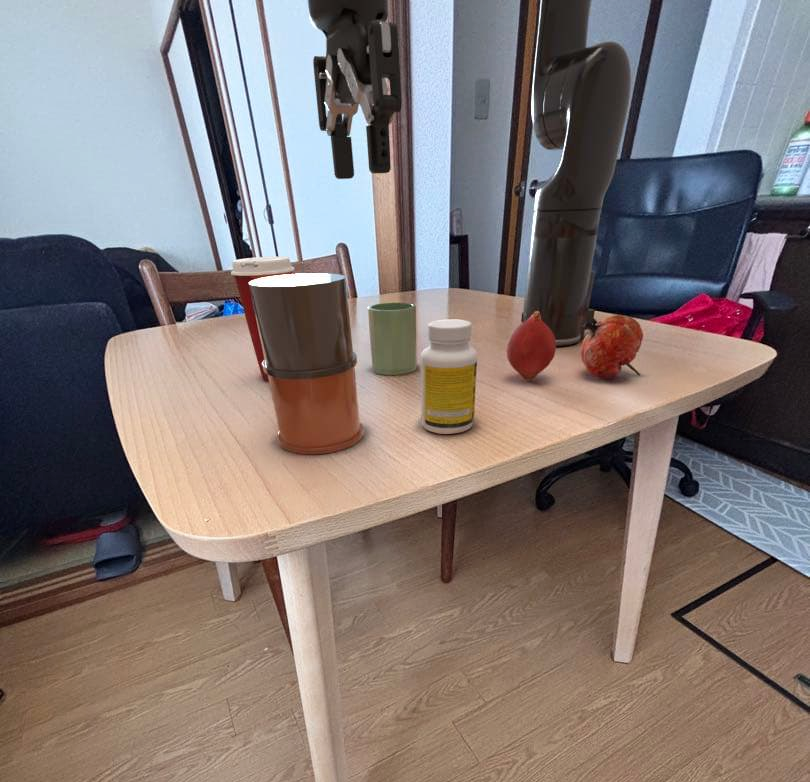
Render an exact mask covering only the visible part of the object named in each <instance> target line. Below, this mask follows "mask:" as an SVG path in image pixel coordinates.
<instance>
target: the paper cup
mask: <svg viewBox="0 0 810 782" xmlns="http://www.w3.org/2000/svg"><path fill="white" fill-rule="evenodd" d="M231 264H232V270H231V272H230V275H232V276H233V277H234V280H235V285H236V287H237V291H238V295H239V298H240V302H241V306H242V309H243V313H244V317H245V320H246V324H247V329H248V331H249V335H250V338H251V343H252V347H253V349H254V350H253V351H254V355H255V357H256V361H257V364H258V368H259V371H260V374H261V377H262V379H263V381H266V382H269V379H268V375H267V374H266V373H265V372H264V371H263V366H262V362H263V361H264V360H265V359H264V354H263V349H262V344H261V340H260V335H259V330H258V325H257V320H256V315H255V310H254V305H253V300H252V296H251V291H250V286H249V283H250V282H251V281H253V280H257V279H261V278H267V277H273V276H282V275H293V274H294V271H295V267H294V266H292V263H291V259H290V257H289V256H258V257H247V258H239V259H233V260H232V263H231Z"/></svg>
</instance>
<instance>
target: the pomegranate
mask: <svg viewBox="0 0 810 782" xmlns="http://www.w3.org/2000/svg"><path fill="white" fill-rule="evenodd" d="M584 327H587V328H588V331H589V333H587V334H586V335H585V336H584V338H583V339H582V340H583V341H582V343H581V347H580V355H581V357H580V358H581V362H582V364H583V365H584V366H585V368H586V370H587V371H588V372H589V373H590V375H592V376H594V377H596V378H599V379H603V380H609V379H612V378H615V377H617V375H618V374H620V372H621V370H622V366H626V367H628V368H629V369H630V370H632V371H633V372H634V373H635V374H636V375H637V376H641V373H640V372H639V371H638V370H637V369H636V368H635V367H634V366H633V365H632V364H631V363H632V362H633V360H634V359H635V358H636V356H637V353H638V352H639V351H640V348H641V346H642V341H643V339H644V332H643V329H642V327H641V324H640V323H639V322H638V321H637V320H636V319H635V318H633V317H632V316H628V315H624V314H615V315H610V316H608V317H606V318H604V319H603V320H601V321H597V324H596V325H593V324H591V323H588V322H586V323H585V325H584V326H583V328H584Z"/></svg>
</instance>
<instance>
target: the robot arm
mask: <svg viewBox="0 0 810 782" xmlns="http://www.w3.org/2000/svg"><path fill="white" fill-rule="evenodd" d="M306 2H307V7H308V8H307V9H308V18H309V21H310V23H311V25H312V26H313V28H315V29H317V31H321V32H322V33H323V35H324V36H325V55H321V56H319V55H314V56H313V60H312V62H313V76H314V85H315V96H316V106H317V107H316V108H317V117H318V126H319V129H320V131H321V132H326V134H327V136H328V137H330V143H331V151H332V162H333V171H334V177H335V179H337V180H347V179H348V180H349V179H353V178H354V176H355V167H354V155H353V145H352V136H350V135H351V131H352V124H353V118H354V116H355V115H356V114H357V113H358V111H359V106H360V108H361V112H362V113H363V116H364V119H365V122H366V123H367V124H368V125H366V126H365V130H366V144H367V160H368V171H369V172H370V173H371V174H375V175H376V174H388V173H390V171H391V168H392V166H391V165H392V164H391V144H390V143H391V142H390V125H391V124H392V122H393V119H394V118H393V116H394V114H396V113H400V112H402V111H401V110H402V106H403V97H402V85H401V84H402V83H401V68H400V67H401V66H400V50H399V49H400V48H399V34H398V33H399V32H398V26H397V24H396V22H391V21H390V22H389V21H387V20H388V17H389V5H388V3H389V1H388V0H307V1H306ZM591 6H592V0H540V5H539V15H538V26H537V34H536V35H537V37H536V47H535V57H534V65H533V66H534V67H533V77H532V88H531V120H532V121H531V123H532V128H533V131H534V135H535V138H536V139H537V142H538V143H539V144H540V146H542V147H543V148H544V149H545V150H548V151H561V150H563V151H562V155H561V160H560V163H559V165H558V167H557V168H556V170H555V171H554V173H553V174H552V175H551V176H550V177H549V178H548V179H547V180H545V181H544V182H543V183H541V184H540V185H538V187H537V189H536V191H535V195H534V201H533V212H532V222H531V232H530V241H529V251H528V261H527V271H526V273H527V274H526V281H525V290H524V299H523V300H524V301H523V310H522V313H521V318H520V319H521V320H520V323H521V324H522V323H523V322H525V321H526V320H527V319H528V318H530V317H531V316H532V315H533V314H534V312H537V311H538V312H540V316H541V320H542V321H543V322H544V323H545V324H546V325H547V326H548V327H549V328H550V329H551V331H552V332H553V334H554V337H555V340H556V347H563V346H570V345H574V344H577V343H579V342H580V341H581V340H584V339H585V332H586V331H589V329H588V328H587V327H584V328H583V326H584V325H585V323H586V322H588V323H591V324H593V325H596V324H597V323H598V320H596V318H595V312H596V309H593V308H590V303H591V299H592V293H593V292H592V291H593V287H594V282H595V281H594V280H595V275H596V273H595V271H594V270H592V267H593V261H594V257H595V250H596V246H597V245H596V244H597V238H598V233H599V227H600V223H601V222H600V221H601V215H602V208H603V204H604V201H605V200H604V199H605V195H606V193H607V191H608V189H609V187H610V185H611V183H612V179H613V177H614V173H615V170H616V165H617V160H618V155H619V151H620V147H621V142H622V137H623V134H624V133H623V132H624V128H625V126H626V125H625V124H626V119H627V116H628V114H627V113H628V110H629V104H630V99H631V90H632V89H631V88H632V68H631V62H630V58H629V56H628V53H627V52H626V49H625V48H624V47H623V46H622V45H621V44H620V43H619V42H616V41H609V40H608V41H602V42H599V43H596V44H592V45H590V46H588V47H587V45H588V34H589V33H588V32H589V22H590V15H591V14H590V13H591ZM386 79H388V81H389V87H388V83H387V82H386ZM389 92H390V94H389Z"/></svg>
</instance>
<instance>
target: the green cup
mask: <svg viewBox="0 0 810 782" xmlns="http://www.w3.org/2000/svg"><path fill="white" fill-rule="evenodd" d="M367 314H368V315H367V316H368V327H369V340H370V341H369V343H370V353H371V354H370V356H371V365H372V371H373V372H374V373H375V374H377V375H378V374H379V375H384V376H401V375H407V374H409V373H413V372H415V371H416V370H417V365H418V354H417V352H418V351H417V306H416V304H415V303H412V302H404V301H389V302H388V301H387V302H381V303H375V304H371V305H368V306H367Z"/></svg>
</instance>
